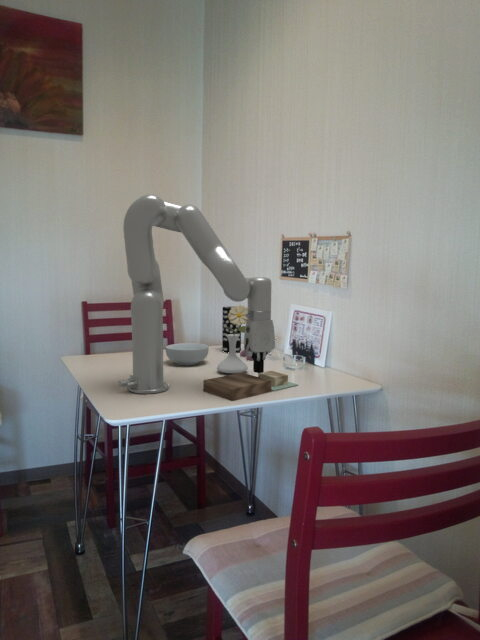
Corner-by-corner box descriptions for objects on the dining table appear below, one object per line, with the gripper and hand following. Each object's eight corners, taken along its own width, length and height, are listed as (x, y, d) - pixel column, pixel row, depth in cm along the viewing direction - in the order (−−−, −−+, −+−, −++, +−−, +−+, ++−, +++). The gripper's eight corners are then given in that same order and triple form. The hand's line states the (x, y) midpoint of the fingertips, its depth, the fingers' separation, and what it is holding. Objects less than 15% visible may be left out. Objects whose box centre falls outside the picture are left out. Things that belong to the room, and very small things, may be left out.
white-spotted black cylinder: (222, 349, 222) (223, 306, 220) (241, 350, 222) (241, 306, 219) (221, 353, 214) (221, 308, 211) (240, 353, 214) (240, 308, 211)
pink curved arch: (255, 364, 199) (262, 349, 199) (246, 360, 197) (253, 344, 197) (247, 359, 208) (254, 345, 208) (238, 355, 206) (245, 340, 207)
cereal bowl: (212, 360, 199) (212, 343, 198) (202, 369, 183) (202, 350, 182) (173, 358, 202) (173, 341, 201) (159, 366, 185) (159, 348, 185)
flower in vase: (211, 373, 175) (211, 304, 172) (226, 367, 185) (226, 302, 182) (243, 377, 169) (243, 306, 166) (257, 371, 179) (258, 304, 176)
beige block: (288, 375, 159) (287, 383, 160) (271, 370, 165) (271, 379, 166) (275, 377, 155) (274, 386, 156) (258, 373, 161) (258, 381, 162)
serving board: (232, 400, 141) (232, 389, 141) (203, 391, 151) (203, 380, 151) (271, 391, 152) (271, 380, 151) (241, 382, 162) (241, 372, 162)
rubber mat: (273, 391, 152) (273, 390, 151) (241, 382, 163) (241, 381, 163) (298, 385, 159) (298, 384, 159) (266, 377, 170) (266, 376, 170)
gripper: (249, 318, 147) (249, 377, 149) (283, 315, 157) (282, 370, 159) (233, 316, 152) (233, 373, 155) (267, 313, 162) (266, 367, 165)
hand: (258, 372), depth 157 cm, fingers closed
